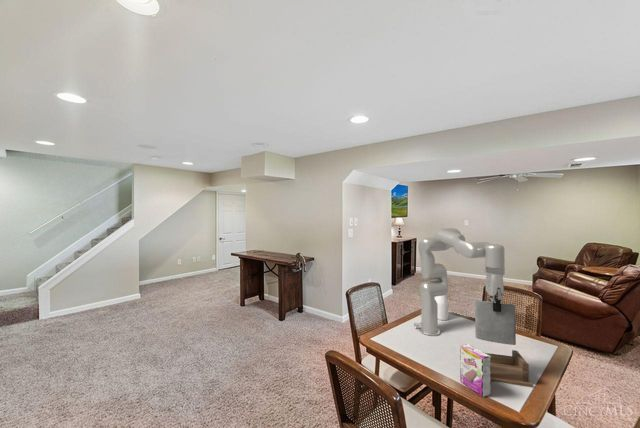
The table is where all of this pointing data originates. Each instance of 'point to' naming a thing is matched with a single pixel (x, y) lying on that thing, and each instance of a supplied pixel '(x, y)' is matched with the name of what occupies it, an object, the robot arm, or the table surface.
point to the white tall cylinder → (442, 307)
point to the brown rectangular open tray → (510, 369)
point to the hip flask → (495, 322)
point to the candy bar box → (475, 370)
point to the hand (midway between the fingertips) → (495, 309)
